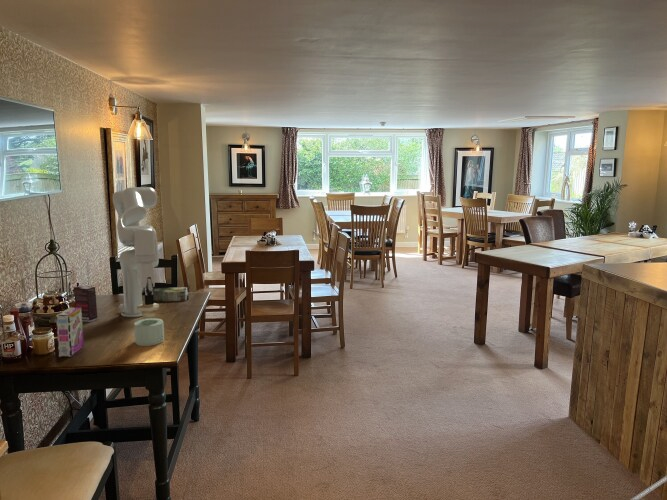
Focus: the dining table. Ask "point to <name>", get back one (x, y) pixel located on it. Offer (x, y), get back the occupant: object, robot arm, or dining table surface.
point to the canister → (149, 331)
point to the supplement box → (86, 302)
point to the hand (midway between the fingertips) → (147, 302)
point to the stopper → (147, 308)
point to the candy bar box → (69, 332)
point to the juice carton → (170, 294)
